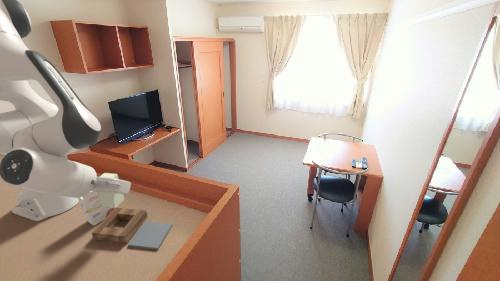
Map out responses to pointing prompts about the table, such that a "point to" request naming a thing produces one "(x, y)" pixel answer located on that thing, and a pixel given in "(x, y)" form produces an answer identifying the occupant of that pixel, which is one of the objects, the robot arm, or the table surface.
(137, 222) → the walnut puzzle board
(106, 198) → the sage block
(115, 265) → the table surface
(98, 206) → the ink cartridge box
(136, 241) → the slate rubber pad
